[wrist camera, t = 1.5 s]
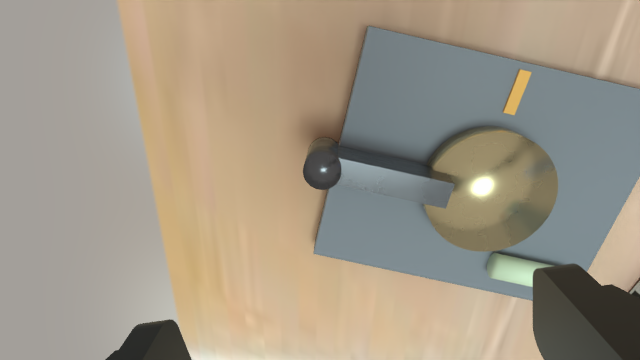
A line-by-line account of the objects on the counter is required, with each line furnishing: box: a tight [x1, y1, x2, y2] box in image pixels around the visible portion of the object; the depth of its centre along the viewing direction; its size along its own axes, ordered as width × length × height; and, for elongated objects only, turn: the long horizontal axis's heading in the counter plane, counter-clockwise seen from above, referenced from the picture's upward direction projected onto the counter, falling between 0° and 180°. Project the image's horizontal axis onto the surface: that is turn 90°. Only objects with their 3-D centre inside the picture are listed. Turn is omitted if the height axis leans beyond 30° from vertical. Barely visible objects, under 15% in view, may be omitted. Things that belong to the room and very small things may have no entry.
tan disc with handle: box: [303, 126, 558, 252], centre depth 27 cm, size 18×9×5 cm, turn 78°
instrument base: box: [314, 26, 640, 301], centre depth 29 cm, size 22×18×4 cm
